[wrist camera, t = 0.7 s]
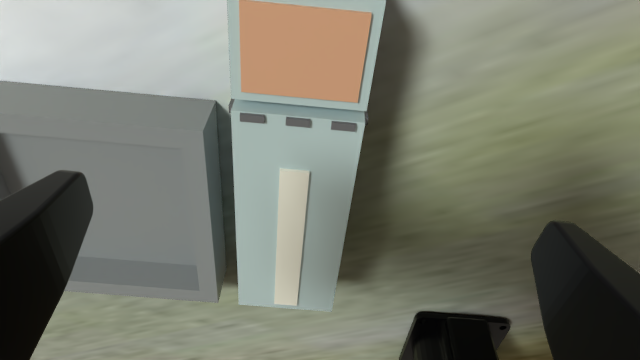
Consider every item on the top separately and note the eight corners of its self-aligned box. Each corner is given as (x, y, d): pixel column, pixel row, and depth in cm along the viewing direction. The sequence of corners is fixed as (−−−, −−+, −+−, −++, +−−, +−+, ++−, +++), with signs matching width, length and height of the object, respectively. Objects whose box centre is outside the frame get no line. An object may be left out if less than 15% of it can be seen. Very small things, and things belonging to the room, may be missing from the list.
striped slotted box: (334, 255, 28) (334, 314, 24) (247, 248, 27) (235, 306, 24) (364, 74, 20) (369, 125, 17) (243, 63, 20) (226, 112, 17)
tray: (226, 268, 29) (218, 302, 27) (33, 252, 28) (9, 286, 26) (215, 100, 21) (202, 131, 19) (-49, 76, 21) (-91, 105, 19)
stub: (361, 64, 20) (366, 113, 17) (247, 53, 20) (230, 100, 16) (377, -34, 17) (386, 2, 14) (246, -47, 17) (225, -14, 14)
